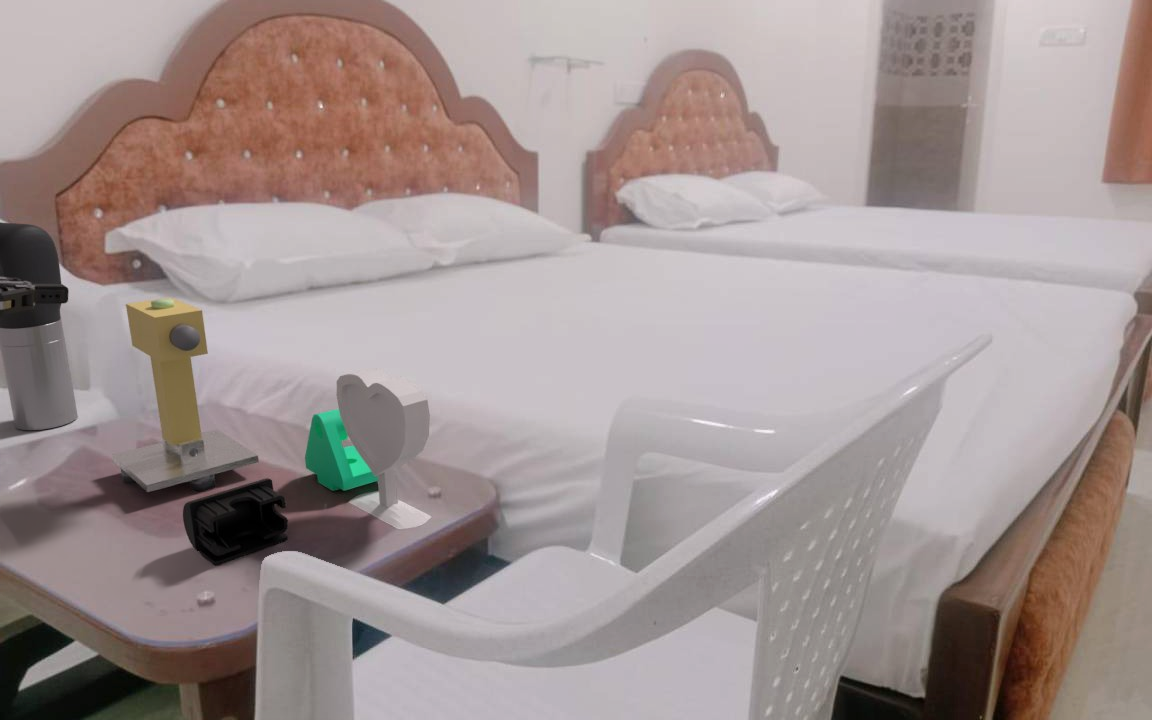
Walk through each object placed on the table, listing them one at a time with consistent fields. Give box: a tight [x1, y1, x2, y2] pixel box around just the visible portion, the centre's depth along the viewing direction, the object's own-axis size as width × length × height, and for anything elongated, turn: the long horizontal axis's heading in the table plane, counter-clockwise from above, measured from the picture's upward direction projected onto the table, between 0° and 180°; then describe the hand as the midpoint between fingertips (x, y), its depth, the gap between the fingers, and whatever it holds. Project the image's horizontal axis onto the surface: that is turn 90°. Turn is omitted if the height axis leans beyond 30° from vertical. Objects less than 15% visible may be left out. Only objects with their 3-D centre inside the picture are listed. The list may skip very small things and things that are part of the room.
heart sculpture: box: [336, 368, 433, 530], centre depth 113 cm, size 16×5×18 cm, turn 45°
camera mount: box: [304, 408, 378, 492], centre depth 123 cm, size 12×8×10 cm, turn 40°
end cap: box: [182, 477, 289, 567], centre depth 106 cm, size 10×7×7 cm
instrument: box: [125, 297, 209, 446], centre depth 123 cm, size 16×6×20 cm, turn 42°
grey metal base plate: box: [111, 428, 259, 493], centre depth 127 cm, size 15×15×6 cm
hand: (66, 293), depth 113 cm, fingers closed
